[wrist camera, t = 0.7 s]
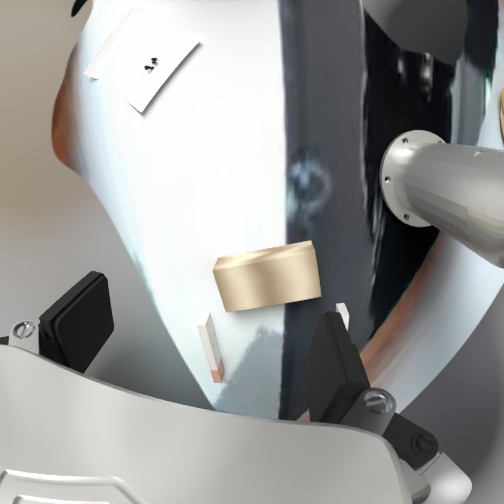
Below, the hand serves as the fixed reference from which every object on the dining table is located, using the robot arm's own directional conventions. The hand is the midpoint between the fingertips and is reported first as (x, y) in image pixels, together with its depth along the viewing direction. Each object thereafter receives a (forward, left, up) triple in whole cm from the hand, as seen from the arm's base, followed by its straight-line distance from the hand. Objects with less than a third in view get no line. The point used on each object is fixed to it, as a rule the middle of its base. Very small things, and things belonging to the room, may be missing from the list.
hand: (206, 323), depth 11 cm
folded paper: (+12, -22, -24) cm, 35 cm away
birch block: (-1, +9, -24) cm, 25 cm away
